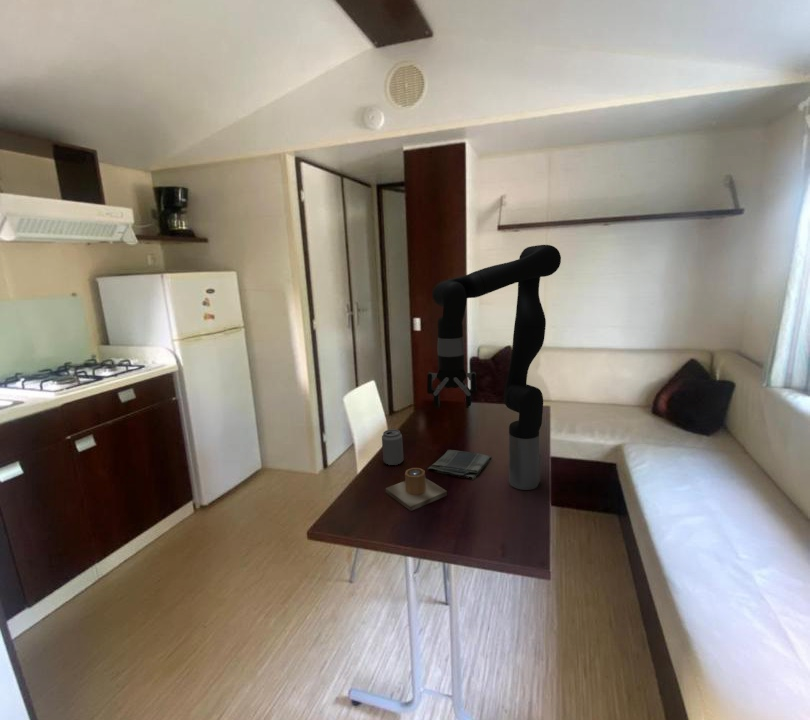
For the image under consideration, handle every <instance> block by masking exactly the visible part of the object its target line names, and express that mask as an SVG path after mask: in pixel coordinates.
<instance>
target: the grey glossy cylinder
mask: <svg viewBox="0 0 810 720" xmlns="http://www.w3.org/2000/svg"><path fill="white" fill-rule="evenodd" d="M419 475H420V471H418V470H412V471H410V476H419Z"/></svg>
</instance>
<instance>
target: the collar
mask: <svg viewBox="0 0 810 720" xmlns="http://www.w3.org/2000/svg"><path fill="white" fill-rule="evenodd" d="M412 470H418V471H420V475H419V476H410V471H412ZM425 478H426V471H425V469H422V468H420V467H411V468H409V469H406V470H405V473H404V479H405V480H404V481H405V485H406V492H408V493H409V494H410V495H419V494H422V493H424V492H425V489H426V482H425Z"/></svg>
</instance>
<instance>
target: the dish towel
mask: <svg viewBox="0 0 810 720" xmlns="http://www.w3.org/2000/svg"><path fill="white" fill-rule="evenodd" d="M492 459H493V458H492V456H490V455H487V454H482V453H477V452H476V453H475V452H470V451H464V450H463V451H462V450H455V449H447V450H446V452H445V453H444V454H442V456H441V457H440V458H438V459H437V460H436V461H435V462H434V463H433V464H431V465H430V466H429V467H427V471H428V472H429V471H431V472H433V473H437V474H441V475H444V474H445V476H448V475H447V474H450V475H449V476H451V475H454V476H455V477H454V478H458V476H460V477H465V478H464V479H467V478H466V477H469V478H471V479H472V480H473V481H474V480H475V479H476V478H477V477H478V476H479V474H480V473H481V472H482V471H483V469H485V467H486V466H488V464H489V463H490V460H491V461H492ZM488 462H489V463H488ZM487 463H488V464H487ZM481 470H482V471H481ZM477 475H478V476H477ZM456 476H457V477H456ZM476 476H477V477H476ZM471 479H470V480H471ZM472 480H471V481H472Z"/></svg>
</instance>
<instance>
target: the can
mask: <svg viewBox="0 0 810 720" xmlns="http://www.w3.org/2000/svg"><path fill="white" fill-rule="evenodd" d="M381 443H382V444H381V445H382V457H383V458H382V460H383V463H384V464H386V465H387V464H388V465H387V466H390V465H395V466H398V464H399V465H400V464H402V462H403V461H404V446H403V435H402V433H401V431H400V430H398V429H395V428H392V429H391V428H390V429H387V430H384V431H383V432H382V435H381Z"/></svg>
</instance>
